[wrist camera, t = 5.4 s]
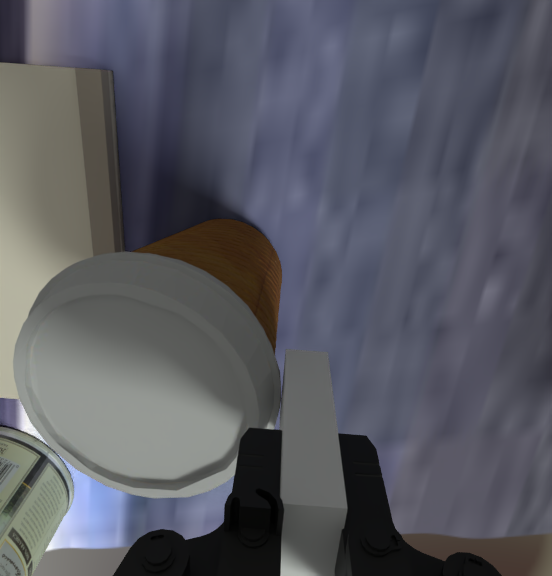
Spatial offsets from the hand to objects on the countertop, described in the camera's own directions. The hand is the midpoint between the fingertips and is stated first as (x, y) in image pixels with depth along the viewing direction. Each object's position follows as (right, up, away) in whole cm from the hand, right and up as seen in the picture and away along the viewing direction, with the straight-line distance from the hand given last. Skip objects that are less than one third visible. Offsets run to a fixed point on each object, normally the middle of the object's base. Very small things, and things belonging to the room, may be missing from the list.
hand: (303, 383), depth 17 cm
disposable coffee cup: (-4, +4, +10) cm, 11 cm away
